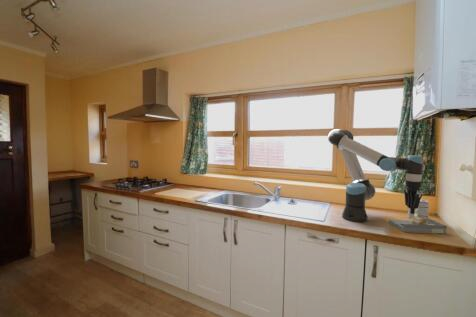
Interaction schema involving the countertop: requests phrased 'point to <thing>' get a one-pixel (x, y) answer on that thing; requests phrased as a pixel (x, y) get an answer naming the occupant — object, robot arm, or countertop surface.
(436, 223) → the trap board
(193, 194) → the countertop surface
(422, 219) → the maple block
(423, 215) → the syrup box
